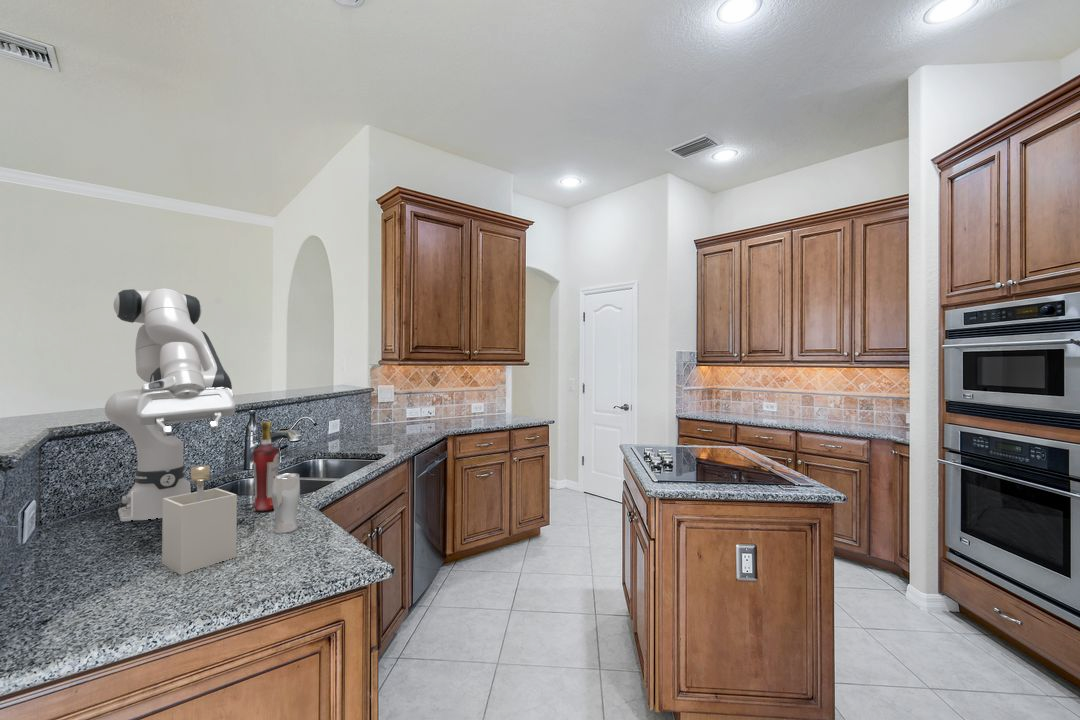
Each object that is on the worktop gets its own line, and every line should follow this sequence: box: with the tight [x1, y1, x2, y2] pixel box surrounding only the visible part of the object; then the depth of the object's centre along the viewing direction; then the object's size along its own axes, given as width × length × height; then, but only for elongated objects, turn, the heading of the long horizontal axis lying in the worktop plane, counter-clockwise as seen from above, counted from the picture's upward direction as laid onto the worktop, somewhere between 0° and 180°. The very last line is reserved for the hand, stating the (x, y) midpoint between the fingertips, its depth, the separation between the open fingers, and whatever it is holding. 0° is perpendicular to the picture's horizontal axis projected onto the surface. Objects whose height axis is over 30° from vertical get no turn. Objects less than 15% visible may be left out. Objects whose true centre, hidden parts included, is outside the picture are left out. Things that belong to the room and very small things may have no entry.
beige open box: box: [161, 487, 238, 576], centre depth 108 cm, size 11×11×15 cm
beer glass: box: [272, 472, 301, 534], centre depth 128 cm, size 7×7×15 cm
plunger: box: [190, 464, 211, 502], centre depth 108 cm, size 9×9×19 cm
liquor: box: [252, 421, 280, 512], centre depth 147 cm, size 7×7×28 cm
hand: (191, 431), depth 114 cm, fingers open, 8 cm apart
